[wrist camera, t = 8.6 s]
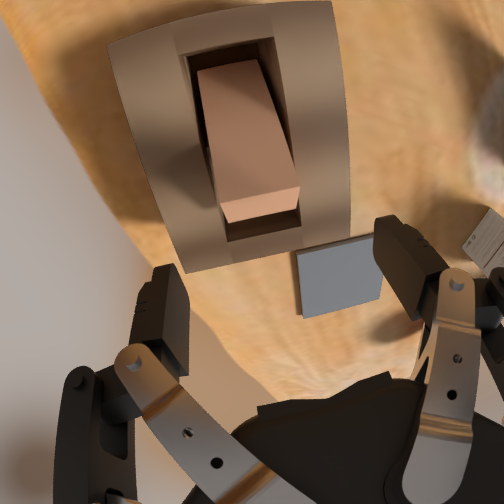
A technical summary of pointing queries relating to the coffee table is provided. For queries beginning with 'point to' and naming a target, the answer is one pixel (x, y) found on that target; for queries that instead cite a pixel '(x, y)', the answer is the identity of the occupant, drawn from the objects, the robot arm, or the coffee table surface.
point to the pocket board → (196, 139)
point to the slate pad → (338, 276)
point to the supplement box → (487, 243)
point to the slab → (246, 142)
